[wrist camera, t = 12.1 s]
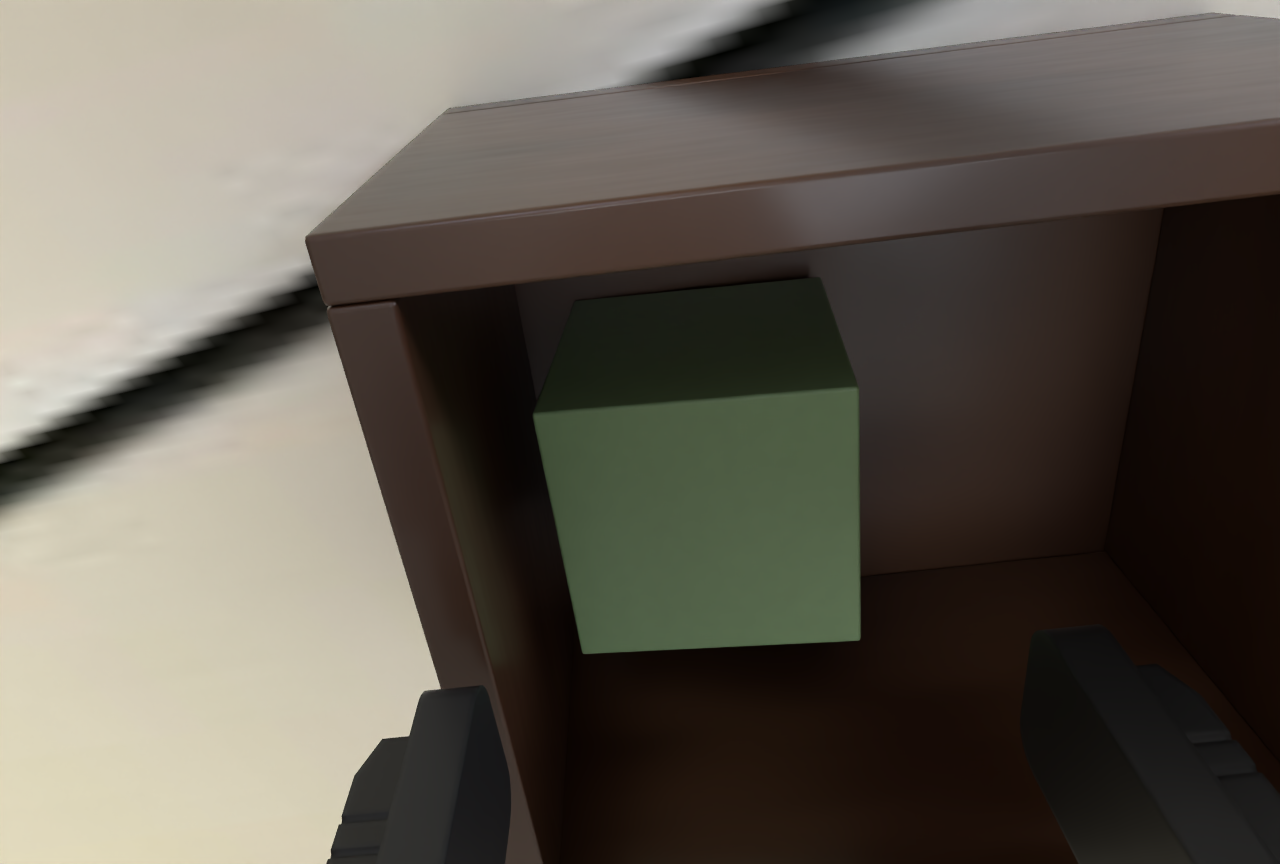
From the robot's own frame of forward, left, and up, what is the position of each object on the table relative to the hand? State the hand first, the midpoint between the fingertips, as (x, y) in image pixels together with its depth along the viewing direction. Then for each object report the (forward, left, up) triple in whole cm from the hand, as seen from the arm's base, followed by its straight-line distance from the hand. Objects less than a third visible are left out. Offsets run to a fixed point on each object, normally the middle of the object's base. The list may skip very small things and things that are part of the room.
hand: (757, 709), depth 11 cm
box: (0, +3, -10) cm, 10 cm away
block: (0, 0, -9) cm, 9 cm away
